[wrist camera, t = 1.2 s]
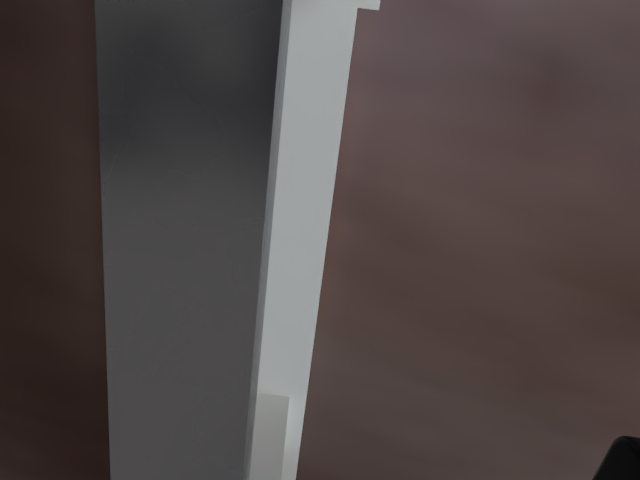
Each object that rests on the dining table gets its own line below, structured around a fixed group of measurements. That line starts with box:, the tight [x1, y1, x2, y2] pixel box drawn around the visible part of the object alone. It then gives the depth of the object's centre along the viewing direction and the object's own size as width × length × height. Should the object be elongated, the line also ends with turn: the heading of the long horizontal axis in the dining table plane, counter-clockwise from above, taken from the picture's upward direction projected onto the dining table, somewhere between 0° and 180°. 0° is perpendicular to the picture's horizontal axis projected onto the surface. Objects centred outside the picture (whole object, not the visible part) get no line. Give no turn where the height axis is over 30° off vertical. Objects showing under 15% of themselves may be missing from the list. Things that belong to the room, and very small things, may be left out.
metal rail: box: [95, 0, 292, 480], centre depth 13 cm, size 22×3×2 cm, turn 173°
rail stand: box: [249, 0, 380, 480], centre depth 16 cm, size 22×6×9 cm, turn 173°
